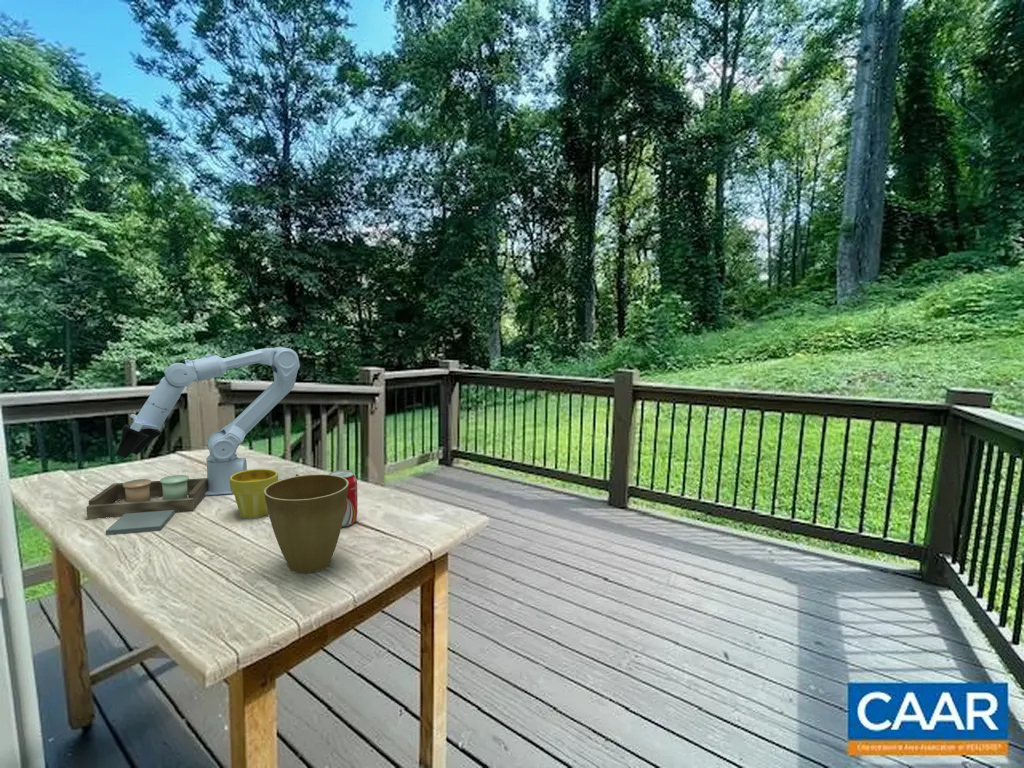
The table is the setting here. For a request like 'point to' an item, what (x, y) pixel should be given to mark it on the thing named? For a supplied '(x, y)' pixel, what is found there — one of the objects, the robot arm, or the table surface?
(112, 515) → the frame
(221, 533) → the table surface
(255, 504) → the plant pot
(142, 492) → the terracotta pot
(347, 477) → the soda can
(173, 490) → the green pot
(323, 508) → the plant pot
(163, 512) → the slate slab
